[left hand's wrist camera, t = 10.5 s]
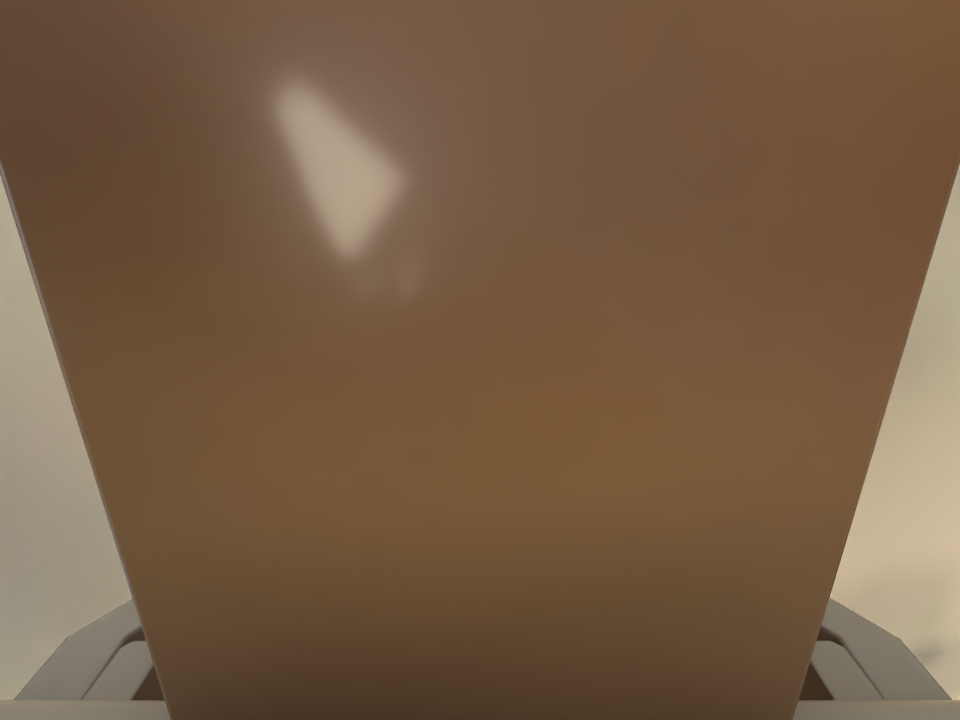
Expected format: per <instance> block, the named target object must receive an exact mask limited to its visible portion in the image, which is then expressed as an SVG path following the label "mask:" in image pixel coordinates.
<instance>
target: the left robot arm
mask: <svg viewBox="0 0 960 720" xmlns="http://www.w3.org/2000/svg"><path fill="white" fill-rule="evenodd" d="M0 720H171V719H170V716H169V713H168V710H167V706H166V703H165V700H164V697H163V694H162V690H161V687H160V684H159V681H158V678H157V674H156V671H155V668H154V665H153V662H152V658H151V655H150V652H149V649H148V646H147V642H146V639H145V636H144V633H143V630H142V626H141V623H140V620H139V617H138V614H137V610H136V607H135V604H134V601H133V599H132V600H130V601H128V602H127V603H125V604H123V605H122V606H120V607H118V608H117V609H115V610H113V611H112V612H110V613H108V614H106V615H105V616H103V617H101V618H100V619H98V620H96V621H95V622H93V623H91V624H89V625H88V626H86V627H84V628H83V629H81V630H79V631H78V632H76V633H74V634H72V635H71V636H69V637H67V638H66V639H65V640H64V641H63V643H62V644H61V645H60V646H59V647H58V648H57V650H56V651H55V652H54V653H53V654H52V655H51V657H50V658H49V659H48V660H47V661H46V662H45V664H44V665H43V666H42V667H41V668H40V669H39V671H38V672H37V673H36V674H35V675H34V677H33V678H32V679H31V680H30V681H29V682H28V684H27V685H26V686H25V687H24V688H23V689H22V691H21V692H20V693H19V694H18V695H17V696H16V698H15V699H14V700H0ZM793 720H960V700H952V699H951V698H950V697H949V696H948V694H947V693H946V692H945V691H944V690H943V689H942V687H941V686H940V685H939V684H938V683H937V682H936V680H935V679H934V678H933V677H932V676H931V675H930V673H929V672H928V671H927V670H926V669H925V668H924V666H923V665H922V664H921V663H920V662H919V661H918V659H917V658H916V657H915V656H914V655H913V654H912V652H911V651H910V650H909V649H908V648H907V647H906V645H905V644H904V643H903V642H902V641H901V640H900V639H899V638H897V637H896V636H894V635H892V634H890V633H889V632H887V631H885V630H884V629H882V628H880V627H879V626H877V625H875V624H873V623H872V622H870V621H868V620H867V619H865V618H863V617H862V616H860V615H858V614H856V613H855V612H853V611H851V610H850V609H848V608H846V607H844V606H843V605H841V604H839V603H838V602H836V601H834V600H833V599H831V598H829V600H828V604H827V607H826V610H825V614H824V617H823V620H822V624H821V627H820V630H819V634H818V637H817V640H816V644H815V647H814V650H813V654H812V657H811V660H810V664H809V667H808V670H807V674H806V677H805V680H804V684H803V687H802V690H801V694H800V697H799V700H798V704H797V707H796V710H795V714H794V717H793Z"/></svg>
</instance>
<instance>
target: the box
mask: <svg viewBox="0 0 960 720" xmlns="http://www.w3.org/2000/svg"><path fill="white" fill-rule="evenodd" d="M959 164H960V0H0V175H1V178H2V181H3V185H4V188H5V191H6V194H7V197H8V201H9V204H10V207H11V210H12V213H13V217H14V220H15V223H16V226H17V229H18V233H19V236H20V239H21V242H22V245H23V249H24V252H25V255H26V258H27V261H28V265H29V268H30V271H31V274H32V277H33V281H34V284H35V287H36V290H37V293H38V297H39V300H40V303H41V306H42V309H43V313H44V316H45V319H46V322H47V325H48V329H49V332H50V335H51V338H52V341H53V345H54V348H55V351H56V354H57V357H58V361H59V364H60V367H61V370H62V373H63V377H64V380H65V383H66V386H67V389H68V393H69V396H70V399H71V402H72V405H73V409H74V412H75V415H76V418H77V421H78V425H79V428H80V431H81V434H82V437H83V441H84V444H85V447H86V450H87V453H88V457H89V460H90V463H91V466H92V469H93V473H94V476H95V479H96V482H97V485H98V489H99V492H100V495H101V498H102V501H103V505H104V508H105V511H106V514H107V517H108V521H109V524H110V527H111V530H112V533H113V537H114V540H115V543H116V546H117V549H118V553H119V556H120V559H121V562H122V566H123V569H124V572H125V575H126V578H127V582H128V585H129V588H130V591H131V594H132V598H133V601H134V604H135V607H136V610H137V614H138V617H139V620H140V623H141V626H142V630H143V633H144V636H145V639H146V642H147V646H148V649H149V652H150V655H151V658H152V662H153V665H154V668H155V671H156V674H157V678H158V681H159V684H160V687H161V690H162V694H163V697H164V700H165V703H166V706H167V710H168V713H169V716H170V719H171V720H793V717H794V714H795V710H796V707H797V704H798V700H799V697H800V694H801V690H802V687H803V684H804V680H805V677H806V674H807V670H808V667H809V664H810V660H811V657H812V654H813V650H814V647H815V644H816V640H817V637H818V634H819V630H820V627H821V624H822V620H823V617H824V614H825V610H826V607H827V604H828V600H829V597H830V594H831V590H832V587H833V584H834V580H835V577H836V574H837V570H838V567H839V564H840V560H841V557H842V554H843V550H844V547H845V544H846V540H847V537H848V534H849V530H850V527H851V524H852V520H853V517H854V514H855V510H856V507H857V504H858V500H859V497H860V494H861V490H862V487H863V484H864V480H865V477H866V474H867V470H868V467H869V464H870V460H871V457H872V454H873V450H874V447H875V444H876V440H877V437H878V434H879V430H880V427H881V424H882V420H883V417H884V414H885V410H886V407H887V404H888V400H889V397H890V394H891V390H892V387H893V384H894V380H895V377H896V374H897V370H898V367H899V364H900V360H901V357H902V354H903V350H904V347H905V344H906V340H907V337H908V334H909V330H910V327H911V324H912V320H913V317H914V314H915V310H916V307H917V304H918V300H919V297H920V294H921V290H922V287H923V284H924V280H925V277H926V274H927V270H928V267H929V264H930V260H931V257H932V254H933V250H934V247H935V244H936V240H937V237H938V234H939V230H940V227H941V224H942V220H943V217H944V214H945V210H946V207H947V204H948V200H949V197H950V194H951V190H952V187H953V184H954V180H955V177H956V174H957V170H958V167H959Z"/></svg>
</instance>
